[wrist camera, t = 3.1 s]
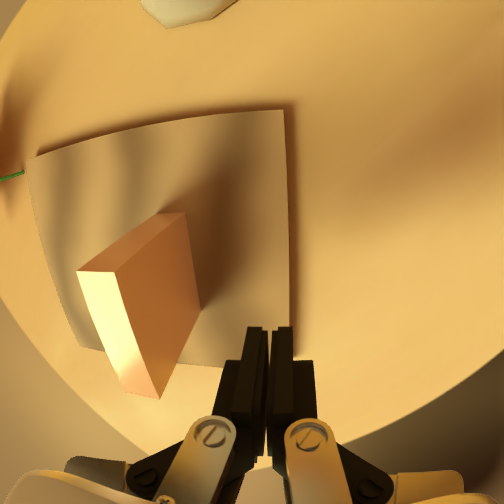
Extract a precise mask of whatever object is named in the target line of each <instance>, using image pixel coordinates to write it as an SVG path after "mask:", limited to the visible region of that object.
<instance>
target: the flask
mask: <svg viewBox="0 0 504 504" xmlns="http://www.w3.org/2000/svg"><path fill="white" fill-rule="evenodd" d="M140 1H141V4H142V7H143V10H145V11H146V12H147V13H148V14H150V15H151V16H152V17H153V18H154V19H156V20H157V21H158V22H159V23H160V24H161V25H163V26H164V27H165V28H166V29H169V28H173V27H177V26H181V25H186V24H190V23H195V22H200V21H206V20H211V19H212V18H213V17H215V16H216V15H217V14H219V13H220V12H221V11H223V10H224V9H225V8H227V7H228V6H229V5H231V4H232V3H234V2H235V1H237V0H140Z"/></svg>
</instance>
